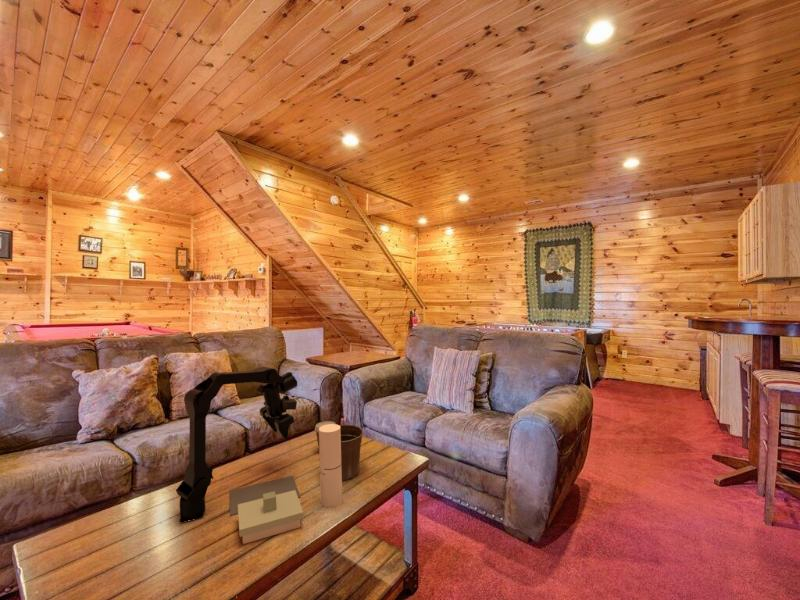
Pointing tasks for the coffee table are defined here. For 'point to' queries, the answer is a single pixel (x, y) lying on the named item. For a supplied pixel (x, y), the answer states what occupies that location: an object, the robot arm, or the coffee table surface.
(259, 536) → the box
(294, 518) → the lid
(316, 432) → the disposable coffee cup
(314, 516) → the coffee table surface
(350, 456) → the plant pot
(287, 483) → the mat
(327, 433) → the cylindrical container
